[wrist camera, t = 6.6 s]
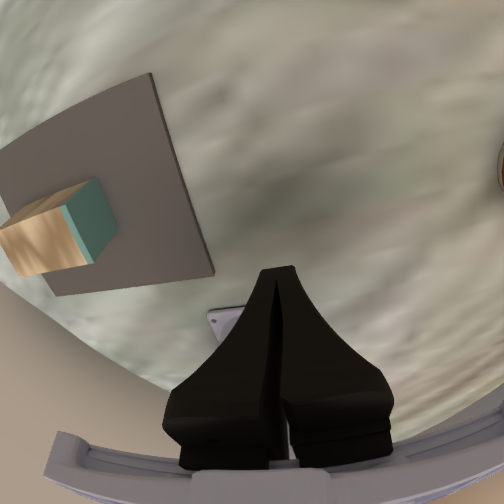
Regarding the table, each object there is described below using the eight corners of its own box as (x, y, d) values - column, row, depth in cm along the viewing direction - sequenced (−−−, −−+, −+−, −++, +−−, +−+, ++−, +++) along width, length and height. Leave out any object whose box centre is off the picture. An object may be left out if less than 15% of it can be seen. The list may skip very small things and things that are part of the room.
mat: (214, 272, 25) (214, 276, 25) (58, 293, 28) (56, 296, 27) (151, 72, 16) (148, 73, 16) (-10, 158, 19) (-14, 160, 19)
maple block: (94, 263, 19) (20, 277, 20) (118, 228, 22) (45, 247, 24) (65, 204, 16) (-6, 232, 18) (96, 177, 20) (24, 206, 21)
